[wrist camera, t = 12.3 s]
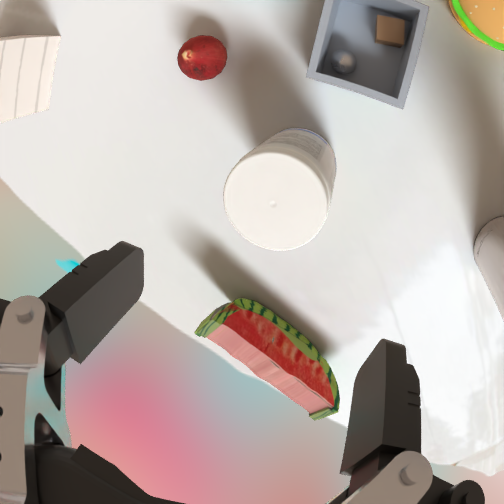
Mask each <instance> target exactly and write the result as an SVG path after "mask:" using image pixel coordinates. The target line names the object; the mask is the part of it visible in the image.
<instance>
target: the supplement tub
mask: <svg viewBox="0 0 504 504" xmlns="http://www.w3.org/2000/svg"><path fill="white" fill-rule="evenodd" d="M335 176H336V158H335V155H334V152H333V150H332V148H331V147H330V145H329V144H328V143H327V141H326V140H325V139H323V138H322V137H321V136H320V135H318V134H317V133H315V132H313V131H310V130H307V129H303V128H290V129H286V130H283V131H280V132H279V133H277V134H275V135H274V136H272V137H271V138H269V139H268V140H266V141H265V142H263V143H262V144H260V145H259V146H257V147H256V148H254V149H253V150H252V151H250V152H249V153H247V154H246V155H245V156H244V157H242V158H241V159H240V161H239V162H238V163H237V164H236V165H235V167H234V168H233V169H232V170H231V172H230V174H229V175H228V177H227V180H226V183H225V186H224V192H223V201H224V207H225V211H226V214H227V216H228V218H229V220H230V222H231V224H232V225H233V227H234V228H235V229H236V230H237V232H238V233H239V234H240V235H241V236H243V237H244V238H245V239H246V240H248V241H249V242H251V243H253V244H255V245H257V246H259V247H262V248H265V249H269V250H276V251H283V250H291V249H295V248H298V247H300V246H302V245H304V244H306V243H308V242H309V241H310V240H312V239H313V238H314V237H315V236H316V235H317V233H318V232H319V231H320V229H321V228H322V226H323V224H324V222H325V220H326V218H327V216H328V212H329V208H330V203H331V198H332V192H333V187H334V181H335Z"/></svg>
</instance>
